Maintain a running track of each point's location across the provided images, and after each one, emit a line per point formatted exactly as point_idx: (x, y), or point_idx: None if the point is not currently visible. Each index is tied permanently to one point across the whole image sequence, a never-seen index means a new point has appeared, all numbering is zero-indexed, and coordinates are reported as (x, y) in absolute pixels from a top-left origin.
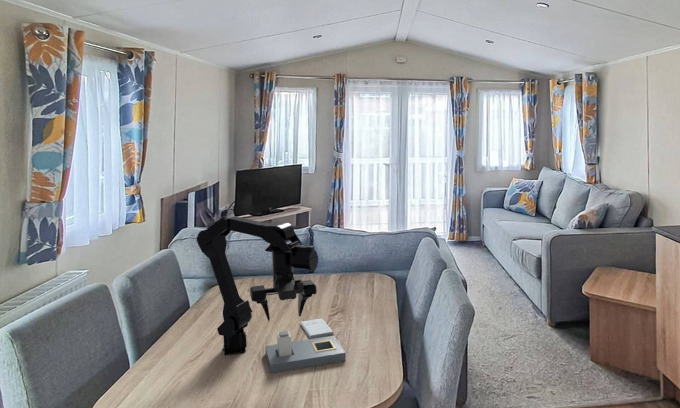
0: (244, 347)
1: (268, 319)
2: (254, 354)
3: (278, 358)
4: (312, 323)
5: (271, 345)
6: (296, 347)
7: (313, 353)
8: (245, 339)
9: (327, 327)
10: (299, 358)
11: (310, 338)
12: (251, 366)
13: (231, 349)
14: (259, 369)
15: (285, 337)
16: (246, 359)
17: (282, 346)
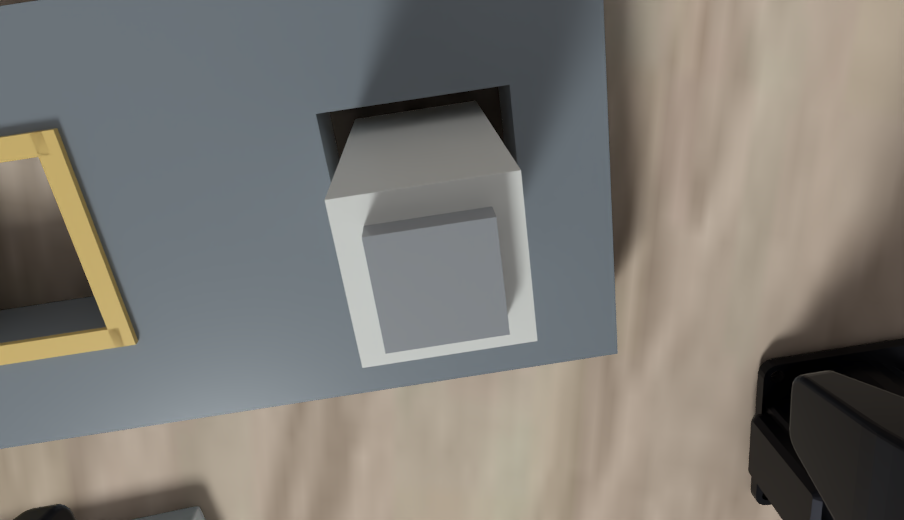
0: (773, 408)
1: (846, 385)
2: (689, 317)
3: (500, 60)
4: None
5: (557, 353)
6: (299, 276)
7: (89, 107)
8: (800, 462)
9: None
10: (253, 12)
11: (196, 508)
12: (741, 107)
13: (896, 374)
14: (676, 32)
15: (415, 185)
16: (766, 243)
17: (457, 146)
